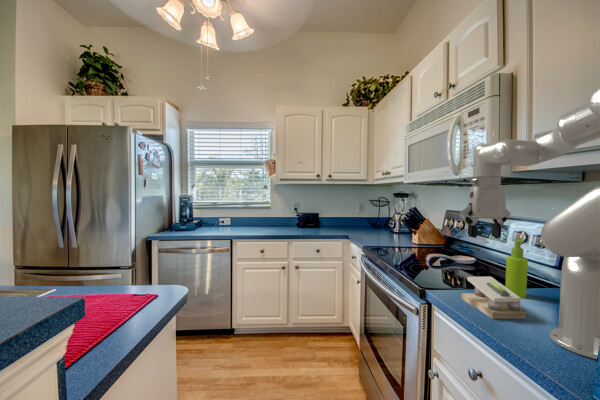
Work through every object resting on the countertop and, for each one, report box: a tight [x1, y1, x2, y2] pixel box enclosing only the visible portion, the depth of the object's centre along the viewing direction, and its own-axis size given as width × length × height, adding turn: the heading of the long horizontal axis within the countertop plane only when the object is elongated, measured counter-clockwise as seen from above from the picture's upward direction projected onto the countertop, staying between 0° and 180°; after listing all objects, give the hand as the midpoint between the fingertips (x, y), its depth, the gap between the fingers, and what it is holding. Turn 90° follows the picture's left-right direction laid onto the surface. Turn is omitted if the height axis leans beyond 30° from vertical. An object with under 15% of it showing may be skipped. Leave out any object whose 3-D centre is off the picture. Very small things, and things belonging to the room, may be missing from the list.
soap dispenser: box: [504, 238, 529, 299], centre depth 95 cm, size 6×7×20 cm
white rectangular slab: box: [466, 276, 522, 303], centre depth 84 cm, size 12×8×3 cm, turn 3°
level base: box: [460, 286, 527, 320], centre depth 85 cm, size 14×10×4 cm
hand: (484, 236), depth 88 cm, fingers open, 7 cm apart
